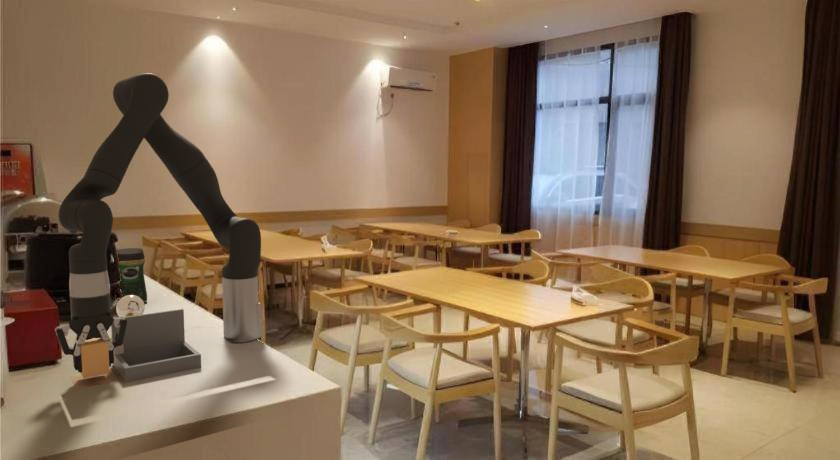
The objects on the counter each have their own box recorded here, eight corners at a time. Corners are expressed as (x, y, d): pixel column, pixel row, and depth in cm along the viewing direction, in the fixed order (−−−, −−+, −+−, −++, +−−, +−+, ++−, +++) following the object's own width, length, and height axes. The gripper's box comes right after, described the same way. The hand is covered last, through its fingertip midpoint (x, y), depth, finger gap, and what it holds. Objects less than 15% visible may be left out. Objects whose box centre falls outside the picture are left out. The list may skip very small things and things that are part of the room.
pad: (111, 373, 136) (111, 369, 135) (118, 384, 129) (118, 380, 129) (70, 381, 131) (70, 377, 130) (76, 393, 124) (76, 388, 124)
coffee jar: (146, 298, 206) (144, 245, 204) (148, 304, 199) (145, 249, 197) (115, 301, 202) (112, 247, 199) (115, 307, 195) (112, 250, 192)
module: (105, 366, 133) (103, 336, 132) (109, 373, 129) (108, 342, 128) (79, 371, 130) (77, 340, 129) (83, 378, 126) (81, 346, 125)
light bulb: (111, 340, 160) (109, 296, 159) (132, 333, 166) (130, 291, 165) (131, 343, 157) (128, 299, 156) (151, 336, 164) (149, 293, 162)
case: (184, 355, 148) (182, 308, 147) (201, 370, 138) (199, 320, 137) (113, 369, 138) (110, 318, 137) (126, 386, 128) (123, 332, 127)
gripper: (122, 284, 135) (126, 357, 137) (48, 293, 126) (53, 370, 128) (130, 291, 129) (134, 366, 131) (53, 300, 120) (58, 381, 122)
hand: (94, 368), depth 130 cm, fingers closed on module, 5 cm apart
